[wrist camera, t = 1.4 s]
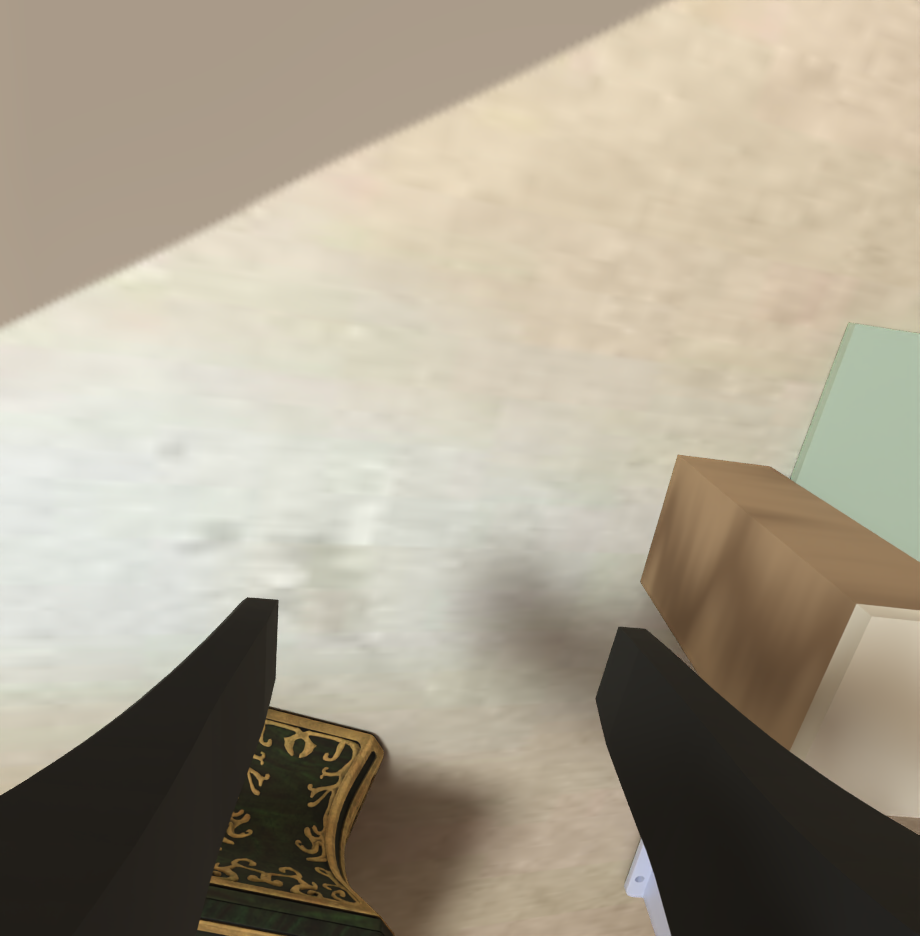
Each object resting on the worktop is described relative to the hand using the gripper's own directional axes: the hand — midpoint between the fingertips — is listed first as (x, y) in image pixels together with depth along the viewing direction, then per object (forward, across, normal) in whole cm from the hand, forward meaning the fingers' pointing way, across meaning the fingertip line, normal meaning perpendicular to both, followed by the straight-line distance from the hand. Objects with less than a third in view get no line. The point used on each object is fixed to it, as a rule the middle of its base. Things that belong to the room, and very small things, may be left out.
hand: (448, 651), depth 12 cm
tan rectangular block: (+11, -12, +2) cm, 16 cm away
